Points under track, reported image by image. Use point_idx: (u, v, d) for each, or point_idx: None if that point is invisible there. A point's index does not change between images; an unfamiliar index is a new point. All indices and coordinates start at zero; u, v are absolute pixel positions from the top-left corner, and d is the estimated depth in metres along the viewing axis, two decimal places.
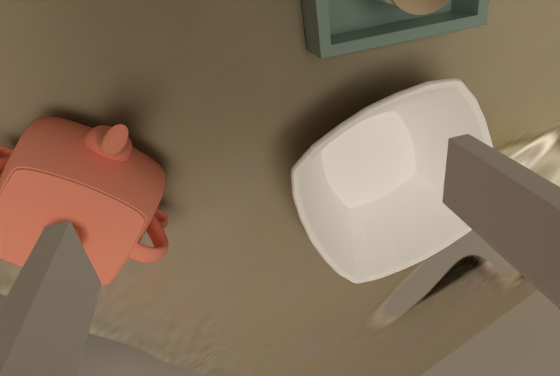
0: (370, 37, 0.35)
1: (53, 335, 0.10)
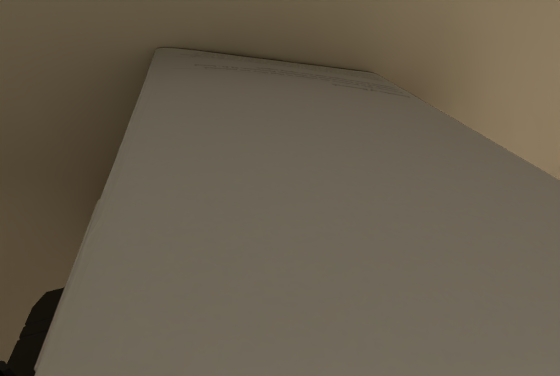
0: None
1: None
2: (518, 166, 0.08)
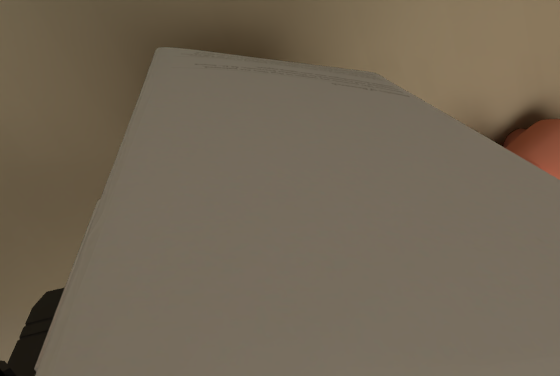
0: None
1: None
2: (517, 165, 0.08)
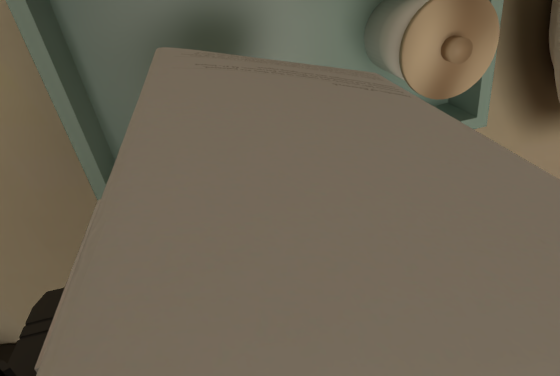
0: None
1: None
2: (519, 165, 0.08)
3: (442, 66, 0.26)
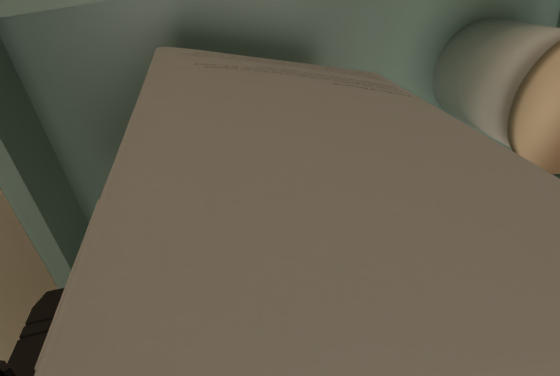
0: None
1: None
2: (519, 165, 0.08)
3: None
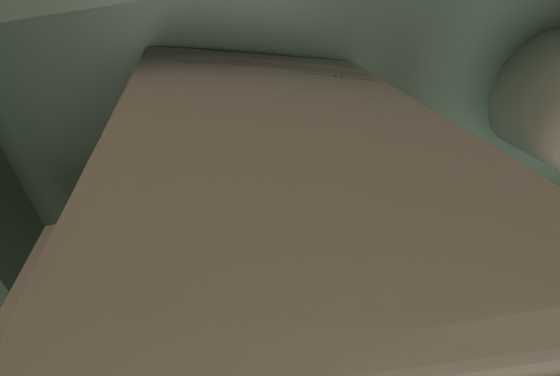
0: None
1: None
2: (457, 136, 0.09)
3: None
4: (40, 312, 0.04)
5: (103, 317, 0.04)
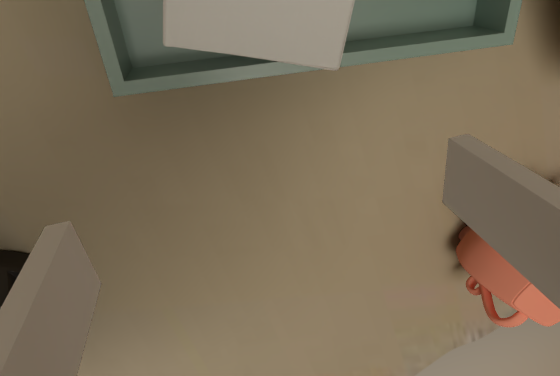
0: None
1: (53, 335, 0.10)
2: None
3: None
4: None
5: None
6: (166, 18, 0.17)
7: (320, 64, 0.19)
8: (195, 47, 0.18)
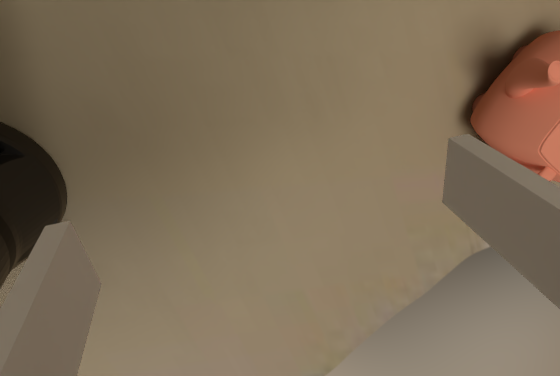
0: None
1: (53, 335, 0.10)
2: None
3: None
4: None
5: None
6: None
7: None
8: None
